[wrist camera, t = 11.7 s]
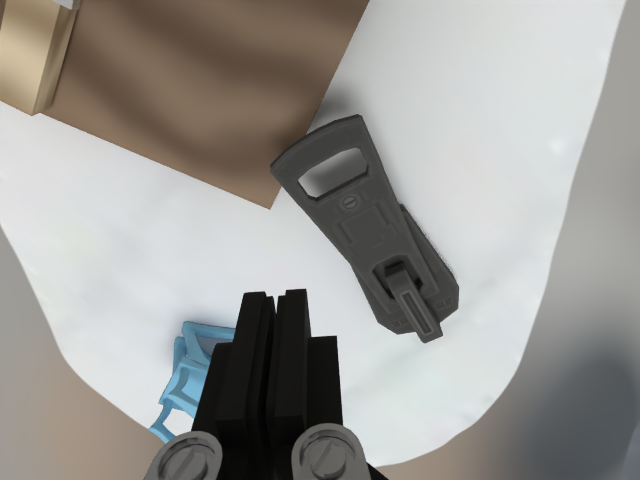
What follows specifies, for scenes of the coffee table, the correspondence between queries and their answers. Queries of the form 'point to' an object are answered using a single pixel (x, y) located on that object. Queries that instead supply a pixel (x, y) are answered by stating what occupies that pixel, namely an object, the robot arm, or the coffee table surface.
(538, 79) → the coffee table surface
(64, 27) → the link
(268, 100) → the walnut board
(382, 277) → the zipper pull
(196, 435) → the robot arm
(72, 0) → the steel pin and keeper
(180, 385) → the chair
